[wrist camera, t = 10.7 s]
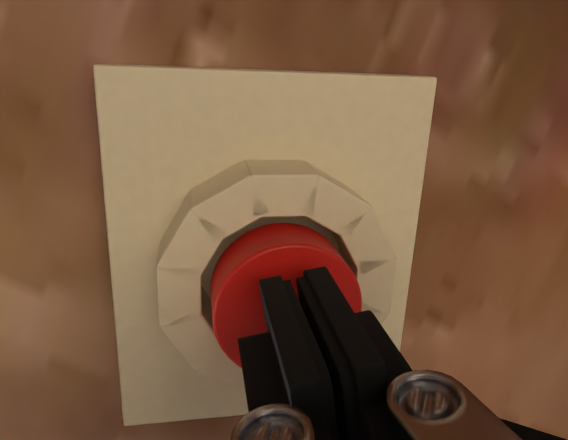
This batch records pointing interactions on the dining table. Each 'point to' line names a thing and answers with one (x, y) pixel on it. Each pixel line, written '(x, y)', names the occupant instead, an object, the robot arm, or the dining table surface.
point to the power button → (263, 264)
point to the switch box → (245, 204)
